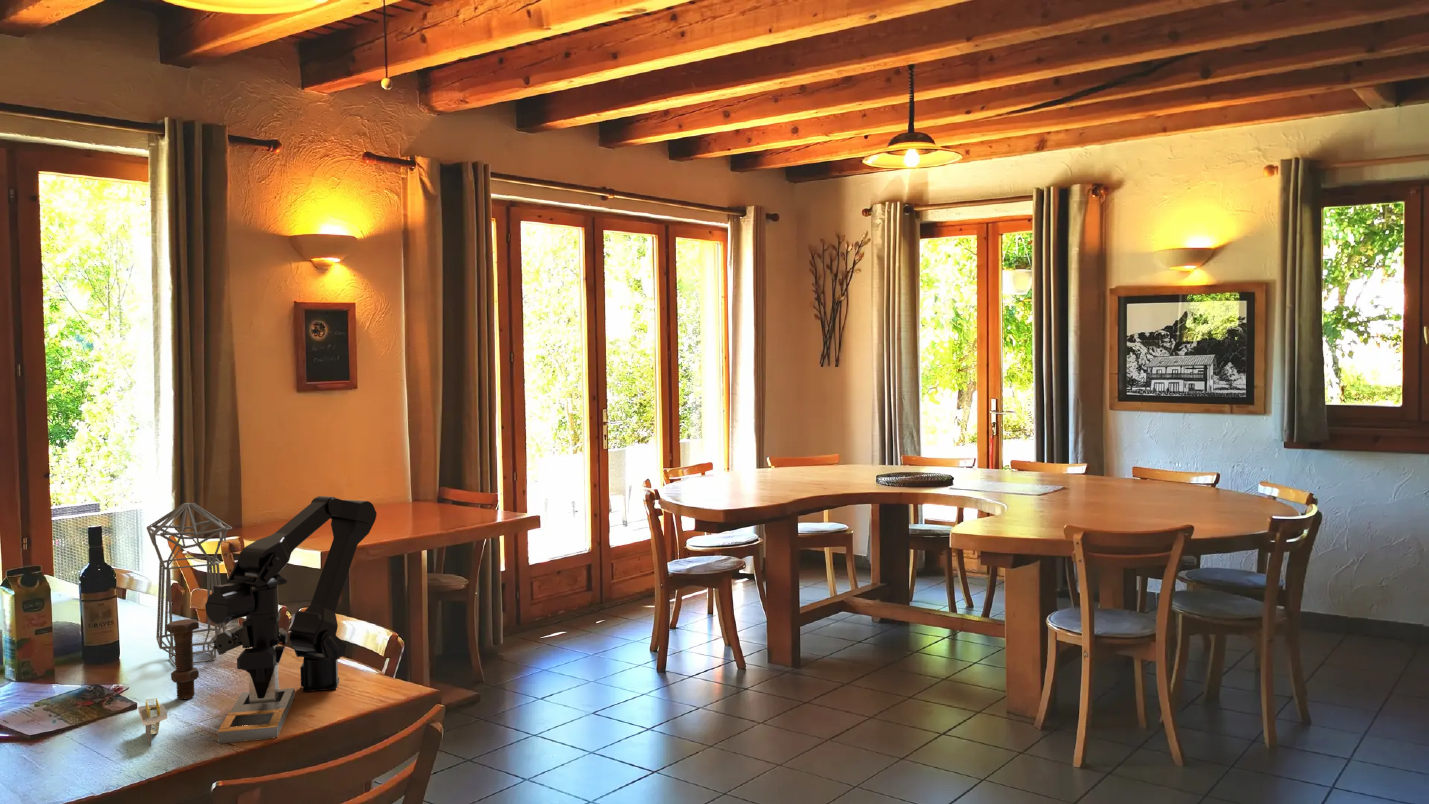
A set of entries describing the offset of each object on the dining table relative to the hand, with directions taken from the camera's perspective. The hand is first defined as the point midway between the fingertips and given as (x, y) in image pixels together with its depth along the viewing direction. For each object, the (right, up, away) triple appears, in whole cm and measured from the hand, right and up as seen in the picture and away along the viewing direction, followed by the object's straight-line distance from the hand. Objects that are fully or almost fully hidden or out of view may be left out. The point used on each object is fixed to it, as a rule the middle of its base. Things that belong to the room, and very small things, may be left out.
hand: (264, 692), depth 199 cm
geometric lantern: (-30, -2, +34) cm, 45 cm away
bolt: (-18, -3, +7) cm, 20 cm away
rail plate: (+2, -3, -6) cm, 7 cm away
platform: (-13, -4, -15) cm, 20 cm away
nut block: (0, -3, 0) cm, 3 cm away
